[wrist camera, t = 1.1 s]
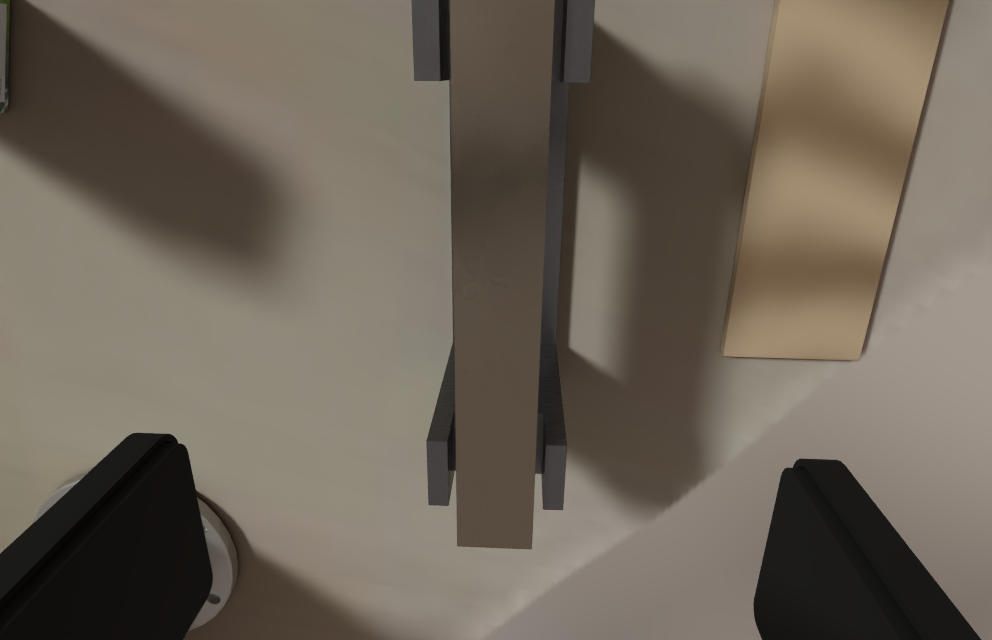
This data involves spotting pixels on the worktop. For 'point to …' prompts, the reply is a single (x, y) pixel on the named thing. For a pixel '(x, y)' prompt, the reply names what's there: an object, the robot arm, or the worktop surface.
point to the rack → (567, 68)
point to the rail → (498, 258)
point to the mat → (827, 172)
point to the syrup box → (4, 54)
